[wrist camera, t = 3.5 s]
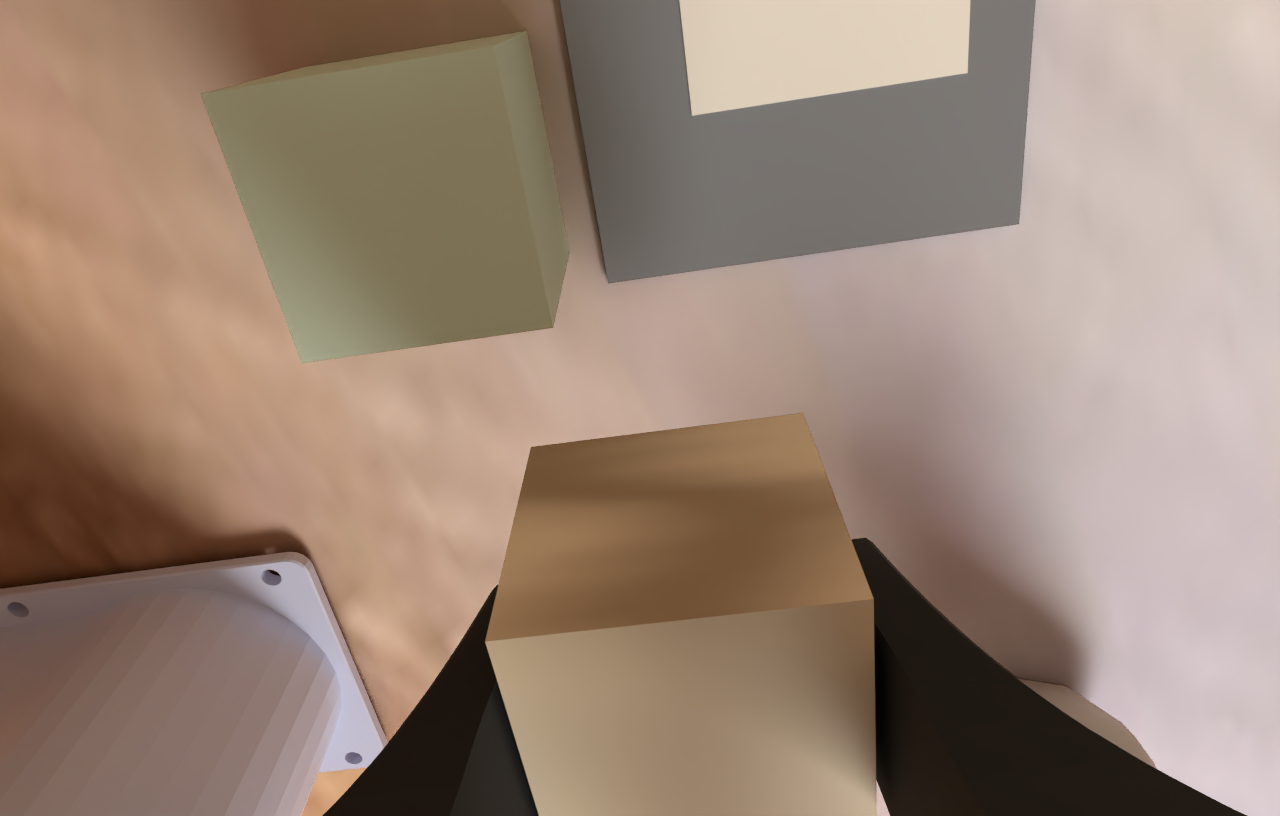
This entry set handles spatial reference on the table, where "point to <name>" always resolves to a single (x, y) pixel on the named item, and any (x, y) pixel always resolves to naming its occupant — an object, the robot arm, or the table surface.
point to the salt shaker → (1090, 717)
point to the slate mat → (796, 124)
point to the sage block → (400, 195)
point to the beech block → (687, 628)
